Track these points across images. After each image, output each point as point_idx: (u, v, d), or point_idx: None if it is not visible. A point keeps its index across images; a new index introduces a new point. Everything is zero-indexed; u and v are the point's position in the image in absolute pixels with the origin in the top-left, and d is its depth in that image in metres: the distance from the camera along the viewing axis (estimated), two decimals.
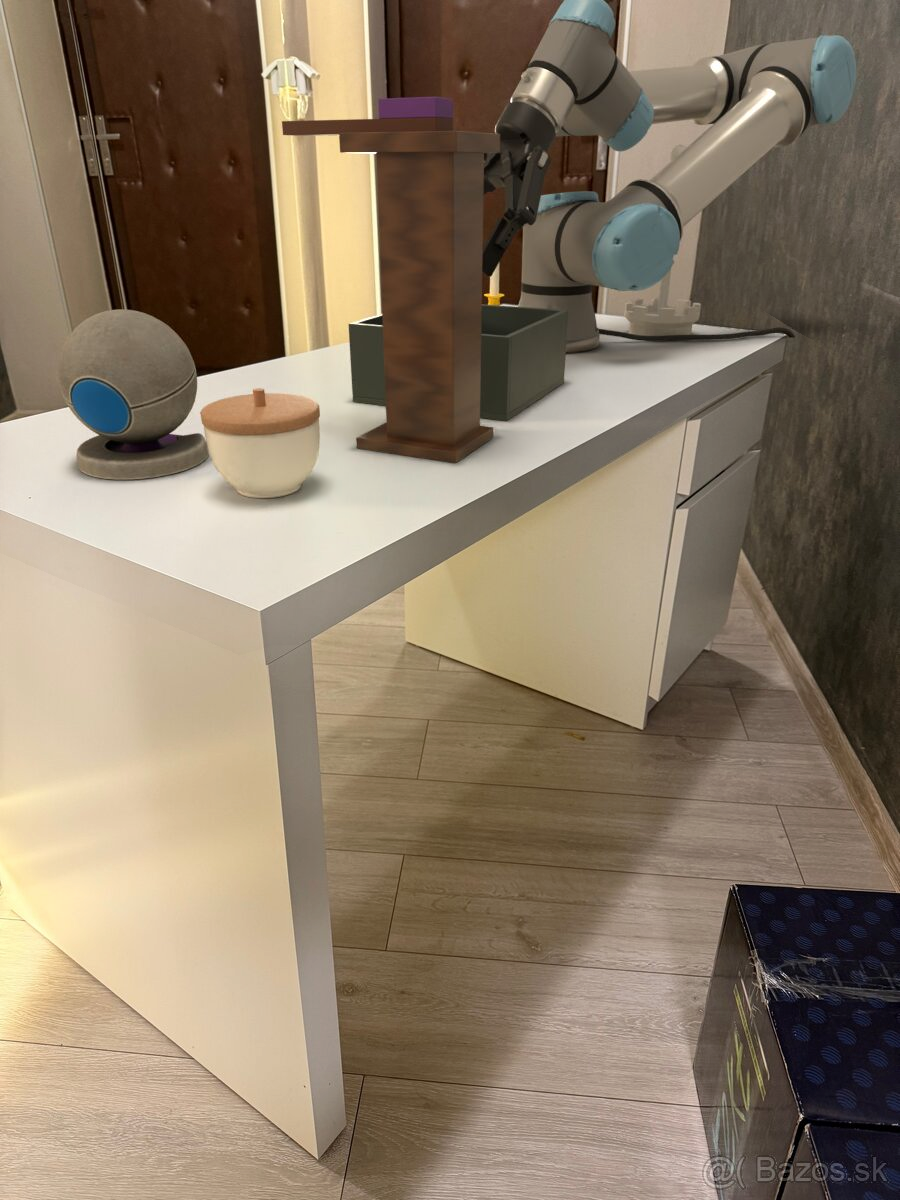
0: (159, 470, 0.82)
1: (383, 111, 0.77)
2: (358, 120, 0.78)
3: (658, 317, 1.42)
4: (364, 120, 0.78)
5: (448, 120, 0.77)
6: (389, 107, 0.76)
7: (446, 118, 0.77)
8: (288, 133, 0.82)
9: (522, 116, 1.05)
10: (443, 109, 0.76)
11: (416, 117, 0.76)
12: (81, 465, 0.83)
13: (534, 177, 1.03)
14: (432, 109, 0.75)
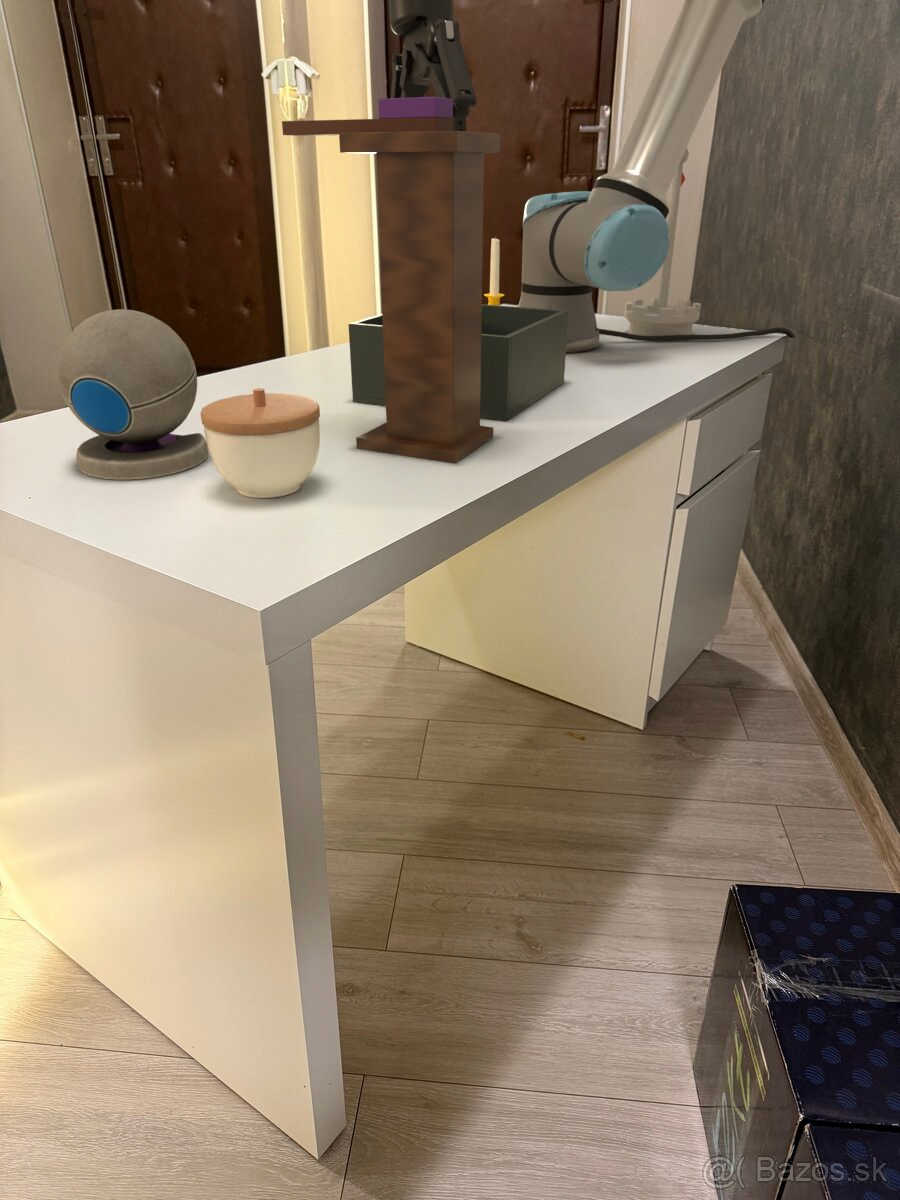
0: (159, 470, 0.82)
1: (383, 111, 0.77)
2: (358, 120, 0.78)
3: (658, 317, 1.42)
4: (364, 120, 0.78)
5: (448, 120, 0.77)
6: (389, 107, 0.76)
7: (446, 118, 0.77)
8: (288, 133, 0.82)
9: (407, 0, 0.93)
10: (443, 109, 0.76)
11: (416, 117, 0.76)
12: (81, 465, 0.83)
13: (451, 55, 0.92)
14: (432, 109, 0.75)
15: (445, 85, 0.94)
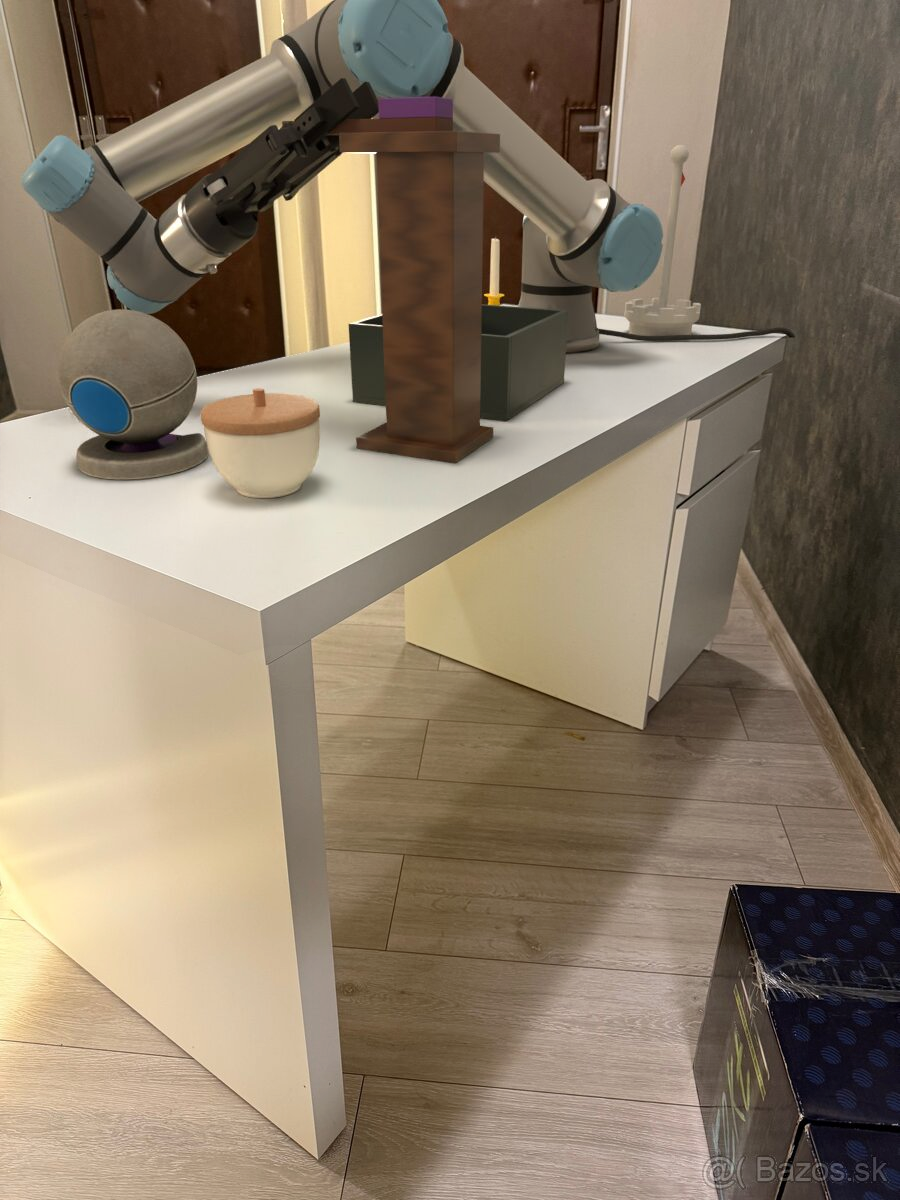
0: (159, 470, 0.82)
1: (383, 111, 0.77)
2: (358, 120, 0.78)
3: (658, 317, 1.42)
4: (364, 120, 0.78)
5: (448, 120, 0.77)
6: (389, 107, 0.76)
7: (446, 118, 0.77)
8: None
9: (221, 240, 0.90)
10: (443, 109, 0.76)
11: (416, 117, 0.76)
12: (81, 465, 0.83)
13: (241, 174, 0.81)
14: (432, 108, 0.75)
15: None
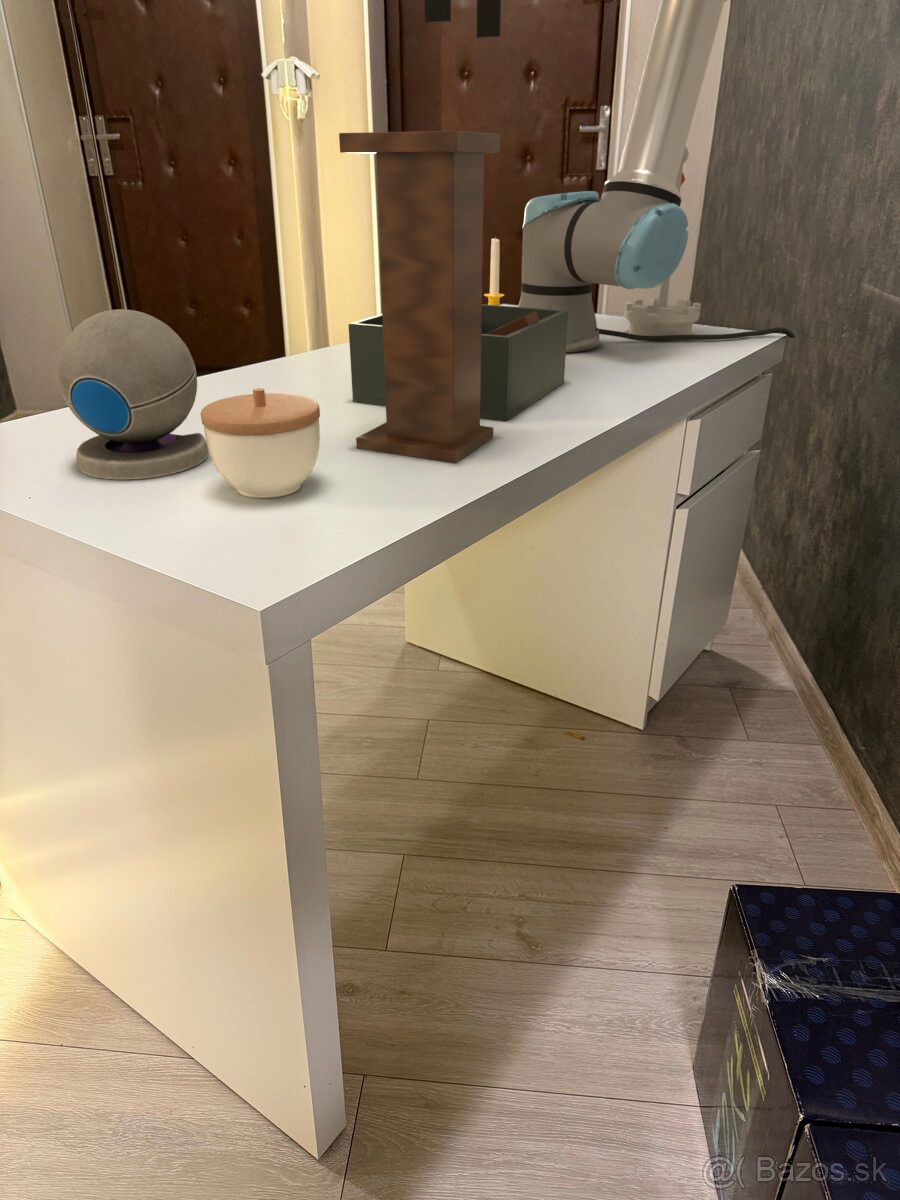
0: (159, 470, 0.82)
1: None
2: None
3: (658, 317, 1.42)
4: None
5: None
6: None
7: None
8: (520, 319, 1.02)
9: None
10: None
11: None
12: (81, 465, 0.83)
13: None
14: None
15: None
